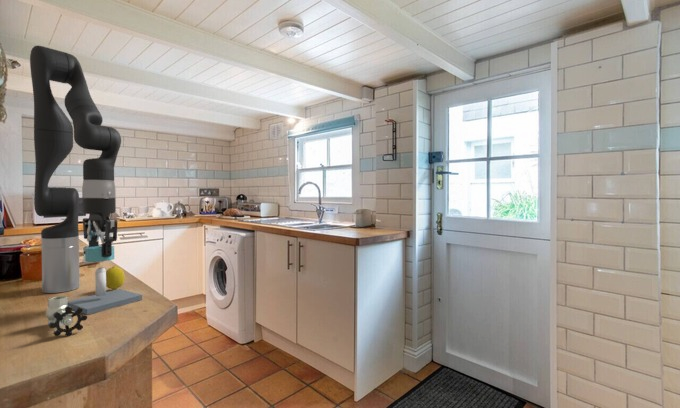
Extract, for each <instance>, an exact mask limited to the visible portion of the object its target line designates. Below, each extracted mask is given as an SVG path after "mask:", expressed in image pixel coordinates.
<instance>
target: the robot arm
mask: <svg viewBox="0 0 680 408" xmlns="http://www.w3.org/2000/svg"><path fill="white" fill-rule="evenodd" d="M29 66H30V77H31V84H32V93H33V141H34V142H33V143H34V144H33V145H34V157H35V173H34V174H35V175H34V177H35V178H34V195H33V204H34V205H33V207H34V210H35V213H36V215H37V216H39V217H65V219H64V220H63V221H61V222H59V223H57V224H55V225H51V226H48V227H45V228H42V229H41V231H40V233H41V235H40V238H41V240H40V241H41V283H42V286H41V289H42V293H45V294H57V293H65V292H70V291H74V290H76V289H79V288H80V237H79V234H80V233H79V212H80V211H79V209H80V195H79V191H78V189H76V188H75V187H50V186H49V182H50V181H51V178H52V176H53V175H54V173H55V172H56V170H57V168H59V166H60V165H61V164H62V162H64V160H66V158H67V157H68V156H69V154H70V153H71V152H72V150H73V148H74V142H75V143H76V144H77V146H78V147H80V148H82V149H85V150H90V151H91V150H93V151H98V152H99V151H101V153H100V156H99V157H96V158H94V157H93V158H87V159H85V160H83V163H82V173H83V174H82V178H83V181H82V190H81V195H82V196H81V200H82V201H81V203H82V213H83V214H86V215H89V216H88V217H85V218H82V229H83V239H84V240H86V242H87V243H88V247H95V246H101V248H102V257H110V256H111V255H112V246H113V245H112V243H114V242H117V239H118V219H112V218H111V214H115V213H116V211H117V210H116V208H117V206H116V201H117V200H116V199H117V197H116V195H117V194H116V185H115V165H116V161H117V158H118V153H119V151H120V148H121V146H122V137H121V134H120V132H119V131H118V130H117V129H116V128H114V127H111V126H105V125H102V124H103V116H102V114H101V111H99V109H98V107H97V105H96V104H95V102H94V99H93V98H92V95H91V94H90V90H89V86H88V83H87V80H86V78H85V74H84V71H83V67H82V65H81V63H80V61H79V60H78V59H77V57H76V56H75V55H73V54H71V53H68V52H65V51H62V50H61V51H60V50H57V49H53V48H50V47H46V46H42V45H35V46H33V47H32V49H31V51H30V55H29ZM50 81H51V82H57V83H61V84H68V85H69V86H71V88H70V89H69V90H68V92H67V93H66V95H65V96H64V100H63V101H64V107H65V109H66V111H67V113H68V115H69V117H70V119H71V120H70V119H69V118H68V116H67V115H66V114H65V112H64V111H63V109H62V108H61V107H60V105H59V103H57V101H56V99H55V97H54V95H53V92H52V87H51V83H50ZM71 121H72V123H71ZM99 239H100V242H101V245H99V244H100V242H99Z"/></svg>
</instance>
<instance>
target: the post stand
mask: <svg viewBox="0 0 680 408" xmlns="http://www.w3.org/2000/svg"><path fill="white" fill-rule="evenodd" d="M106 271H107V270H106V268H104V267H98V268H97V269H96V270H95V273H94V274H95V275H94V276H95V294H93V295H88V296H84V297H80V298H75V299H71V300H68V304H67V305H68V306H70V307H71V308H72V311H76V310H77V309H76V308H78V307H81V308H82V309H83V311H82V312H81V313H80V314H82V315H86V316H89V315H92V314H96V313H101V312H104V311H107V310H110V309H113V308H117V307H122V306H124V305H129V304H133V303H136V302H138V301H142V300H143V294H139V293H137V292H133V291H129V290H126V289H121V288H117V289H116V290H109V291H107V287H106Z"/></svg>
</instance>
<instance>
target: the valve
mask: <svg viewBox="0 0 680 408" xmlns="http://www.w3.org/2000/svg"><path fill="white" fill-rule="evenodd" d="M68 301H69V300H68V297H67V296H66V295H58V296H53V297H50V298H48V299H47V309H46V311H45V316H46V319H47V327H48V328H50V329H54V328H56V330H53V333H52V334H53V335H54V336H55V337H59V336H60V335H62V333H64V335H65V336H66V337H72V335H73V331H74V330H77V331H81V330H83V329H84V325H82V324H81V322H83V321H86V320H87V319H88V315H86V314H82V313H81V312H82V311H83V309H82V308H81V307H78V308H76V309H77V310H76V311H75V310H72V308H71V307H70V306H68V305H67V304H68ZM81 314H82V315H81ZM74 317H76V318H77V321H76V323H75V324H74V325H73V326H72V327H70V325H72V324H73V323H74ZM62 327H64V328H62Z"/></svg>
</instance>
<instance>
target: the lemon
mask: <svg viewBox="0 0 680 408" xmlns="http://www.w3.org/2000/svg"><path fill="white" fill-rule="evenodd" d="M125 279H126V276H125V272H124V270H123V269H122V268H121V267H118V266H116V265H113V266H112V267H110V268H108V269H107V270H106V288H108V289H110V290H111V291H113V290H117V289H120V288H121V287H122V286H123V284H124V282H125Z"/></svg>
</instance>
